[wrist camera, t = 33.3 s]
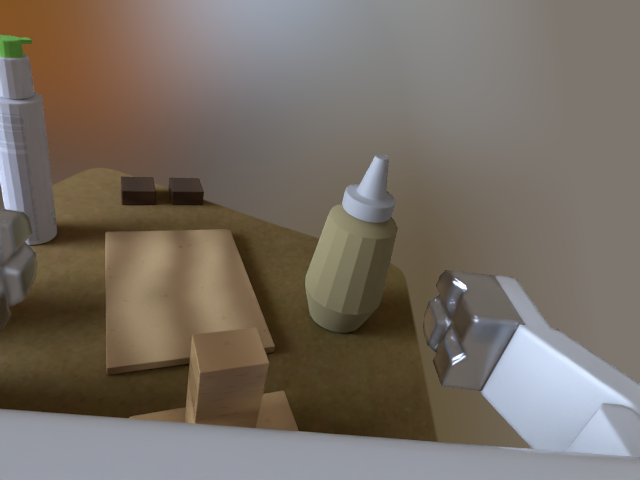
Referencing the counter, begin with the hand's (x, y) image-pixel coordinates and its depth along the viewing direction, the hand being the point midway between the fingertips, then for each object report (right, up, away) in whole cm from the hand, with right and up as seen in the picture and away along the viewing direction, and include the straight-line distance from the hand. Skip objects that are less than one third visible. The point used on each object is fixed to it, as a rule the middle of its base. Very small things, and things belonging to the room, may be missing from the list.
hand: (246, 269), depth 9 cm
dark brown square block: (-17, +6, +54) cm, 57 cm away
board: (-13, -4, +38) cm, 40 cm away
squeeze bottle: (+3, -7, +39) cm, 40 cm away
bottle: (-29, +1, +40) cm, 50 cm away
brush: (-6, -15, +23) cm, 28 cm away
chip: (-22, +6, +51) cm, 56 cm away
